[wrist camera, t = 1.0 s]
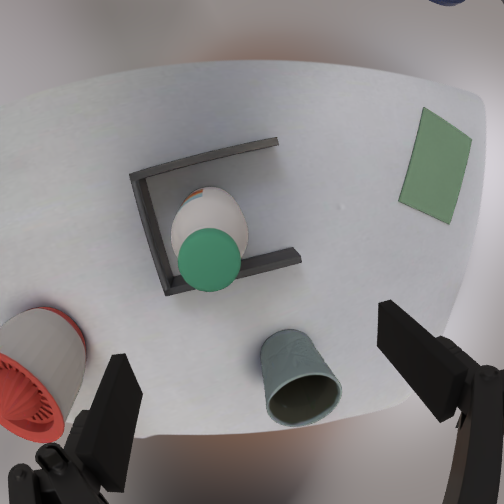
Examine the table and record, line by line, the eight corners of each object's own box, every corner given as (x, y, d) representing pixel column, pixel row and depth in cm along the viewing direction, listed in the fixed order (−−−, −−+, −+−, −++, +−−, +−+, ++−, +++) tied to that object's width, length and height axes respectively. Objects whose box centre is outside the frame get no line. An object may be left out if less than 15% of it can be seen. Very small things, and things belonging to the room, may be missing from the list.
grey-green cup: (321, 325, 49) (350, 370, 37) (310, 376, 51) (332, 424, 40) (257, 325, 47) (272, 374, 36) (251, 378, 50) (262, 430, 38)
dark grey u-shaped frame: (168, 285, 44) (164, 298, 39) (136, 172, 39) (127, 174, 34) (294, 253, 45) (303, 264, 40) (270, 139, 40) (278, 136, 35)
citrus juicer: (-1, 306, 41) (-67, 368, 22) (72, 283, 42) (5, 358, 23) (38, 379, 45) (-4, 454, 26) (113, 368, 46) (80, 461, 27)
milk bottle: (224, 176, 40) (236, 190, 21) (248, 229, 43) (279, 286, 24) (170, 201, 40) (136, 239, 21) (196, 253, 43) (186, 327, 24)
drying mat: (423, 107, 41) (424, 107, 40) (470, 139, 43) (472, 139, 43) (398, 201, 44) (399, 201, 44) (448, 224, 47) (449, 224, 46)
